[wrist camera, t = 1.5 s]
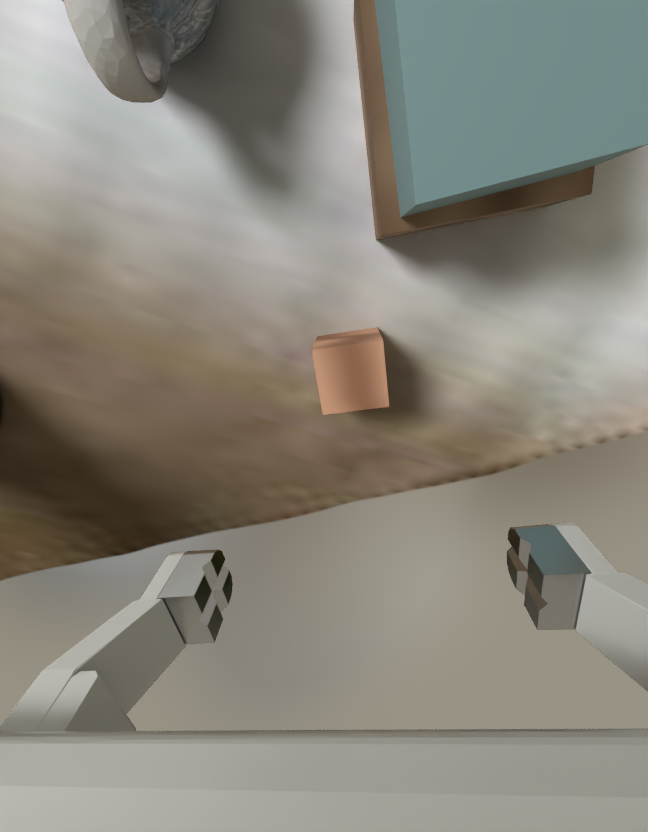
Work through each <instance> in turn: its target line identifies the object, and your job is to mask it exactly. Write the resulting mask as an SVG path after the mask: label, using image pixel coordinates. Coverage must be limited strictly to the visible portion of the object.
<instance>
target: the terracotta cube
mask: <svg viewBox="0 0 648 832" xmlns="http://www.w3.org/2000/svg"><path fill="white" fill-rule="evenodd" d="M312 356H313V361H314V367H315V372H316V378H317V384H318V389H319V395H320V401H321V406H322V412H323V415H325V414H333V413H342V412H350V411H358V410H366V409H374V408H383V407H389V399H388V388H387V377H386V366H385V355H384V344H383V339H382V336H381V334H380V332H379V330H378V327H377V328H371V329H364V330H358V331H351V332H344V333H338V334H331V335H324V336H318V337H317V339H316V341H315V343H314V346H313V348H312Z"/></svg>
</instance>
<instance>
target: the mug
mask: <svg viewBox="0 0 648 832" xmlns="http://www.w3.org/2000/svg"><path fill="white" fill-rule="evenodd" d="M62 1H63V2H64V4H65V7H66V11H67V14H68V17H69V20H70V23H71V25H72V28H73V30H74V32H75V35H76V37H77V39H78V41H79V43H80V46H81V48H82V50H83V52H84V55H85V57H86V59H87V60H88V62H89V63H90V65H91V67H92V68H93V70H94V71H95V73H96V75H97V76H98V78H99V79H100V80H101V82H102V83H103V85H104V86H105V87H106V88H107V89H108V90H109V91H110V92H111V93H112V94H113V95H115V96H117V97H119V98H121V99H122V100H126V101H131V102H141V103H142V102H153V101H155V100H158V99H160V98H162V96H163V95H164V94H165V92H166V88H167V84H168V78H169V72H170V65H171V63H174V62H176V61H179V60H180V59H181V58H183V57H184V56H185V55H187V54H188V53H190V52H191V51H192V50H194V49H195V48H196V47H197V46H198V45H199V44H200V42H201V41H202V39H203V38H204V36H205V34H206V32H207V30H208V28H209V26H210V23H211V21H212V19H213V16H214V11H215V9H216V6H217V0H62Z"/></svg>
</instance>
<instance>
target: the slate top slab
mask: <svg viewBox="0 0 648 832" xmlns="http://www.w3.org/2000/svg"><path fill="white" fill-rule="evenodd" d="M374 1H375V10H376V18H377V26H378V35H379V43H380V51H381V60H382V68H383V76H384V85H385V93H386V102H387V110H388V118H389V127H390V135H391V143H392V152H393V160H394V168H395V177H396V185H397V194H398V202H399V210H400V218H401V217H405V216H409V215H413V214H416V213H420V212H424V211H428V210H432V209H436V208H440V207H443V206H447V205H451V204H455V203H459V202H463V201H467V200H470V199H474V198H478V197H482V196H486V195H490V194H494V193H497V192H501V191H505V190H509V189H513V188H517V187H521V186H524V185H528V184H532V183H536V182H540V181H544V180H548V179H552V178H555V177H559V176H563V175H567V174H571V173H575V172H579V171H581V170H584V169H586V168H589V167H591V166H594V165H596V164H599V163H601V162H604V161H607V160H609V159H612V158H614V157H617V156H619V155H622V154H624V153H627V152H629V151H632V150H635V149H637V148H640V147H642V146H645V145H647V144H648V0H374Z"/></svg>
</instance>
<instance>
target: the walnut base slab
mask: <svg viewBox="0 0 648 832" xmlns="http://www.w3.org/2000/svg"><path fill="white" fill-rule="evenodd" d="M354 30H355V39H356V49H357V59H358V69H359V79H360V88H361V98H362V108H363V118H364V127H365V137H366V147H367V157H368V167H369V176H370V186H371V196H372V206H373V215H374V225H375V235H376V240H378V239H383V238H388V237H393V236H398V235H403V234H408V233H413V232H418V231H424V230H429V229H434V228H439V227H444V226H449V225H454V224H459V223H464V222H469V221H474V220H479V219H484V218H489V217H494V216H499V215H504V214H510V213H515V212H520V211H525V210H530V209H535V208H540V207H545V206H550V205H553V204H557V203H560V202H564V201H567V200H571V199H574V198H578V197H581V196H585V195H589V194H591V192H592V184H593V175H594V166H595V165H594V166H591V167H589V168H586V169H584V170H581V171H579V172H575V173H571V174H567V175H563V176H559V177H555V178H552V179H548V180H544V181H540V182H536V183H532V184H528V185H524V186H521V187H517V188H513V189H509V190H505V191H501V192H497V193H494V194H490V195H486V196H482V197H478V198H474V199H470V200H467V201H463V202H459V203H455V204H451V205H447V206H443V207H440V208H436V209H432V210H428V211H424V212H420V213H416V214H413V215H409V216H405V217H401V218H400V210H399V202H398V194H397V185H396V177H395V168H394V160H393V152H392V143H391V135H390V127H389V118H388V110H387V102H386V93H385V85H384V76H383V68H382V60H381V51H380V43H379V35H378V26H377V18H376V10H375V1H374V0H354Z"/></svg>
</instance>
